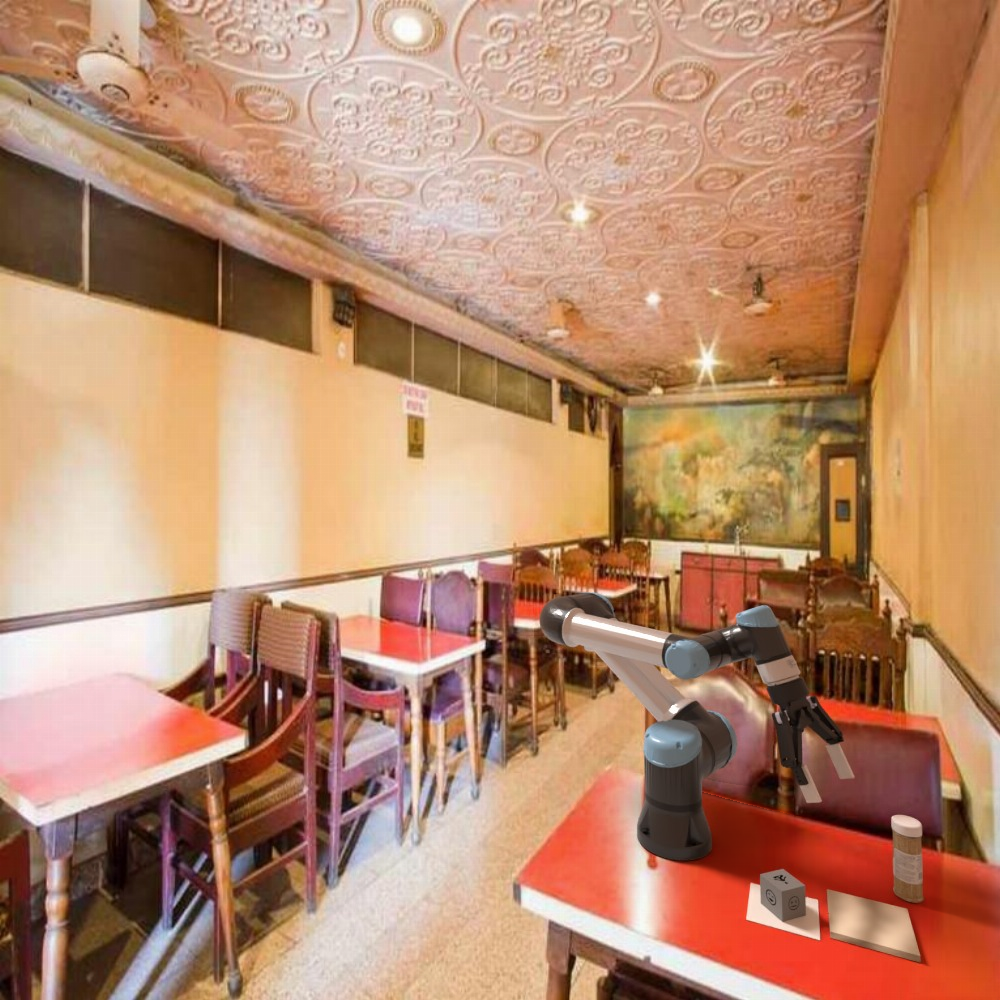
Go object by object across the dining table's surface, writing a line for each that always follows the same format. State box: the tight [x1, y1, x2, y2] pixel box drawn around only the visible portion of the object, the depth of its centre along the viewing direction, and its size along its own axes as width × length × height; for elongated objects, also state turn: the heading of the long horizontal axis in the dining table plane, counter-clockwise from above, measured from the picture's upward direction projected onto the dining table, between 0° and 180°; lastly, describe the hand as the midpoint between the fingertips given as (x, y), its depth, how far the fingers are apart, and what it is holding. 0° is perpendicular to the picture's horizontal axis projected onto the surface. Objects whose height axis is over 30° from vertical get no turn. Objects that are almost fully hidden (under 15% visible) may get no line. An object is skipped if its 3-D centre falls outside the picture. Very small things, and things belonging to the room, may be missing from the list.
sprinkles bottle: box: [890, 814, 925, 904], centre depth 105 cm, size 5×5×14 cm
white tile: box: [745, 882, 821, 941], centre depth 102 cm, size 11×11×1 cm
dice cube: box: [759, 868, 807, 922], centre depth 102 cm, size 5×5×5 cm
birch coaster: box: [826, 888, 922, 963], centre depth 97 cm, size 12×12×1 cm
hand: (831, 789), depth 114 cm, fingers open, 13 cm apart
